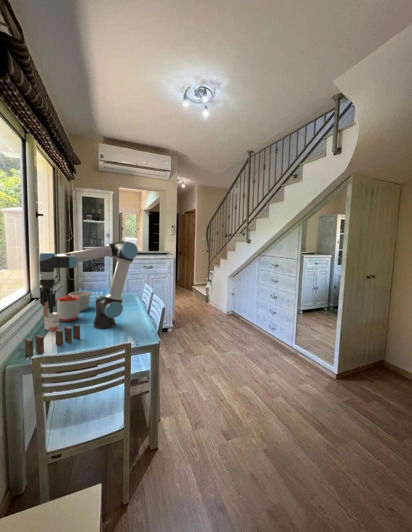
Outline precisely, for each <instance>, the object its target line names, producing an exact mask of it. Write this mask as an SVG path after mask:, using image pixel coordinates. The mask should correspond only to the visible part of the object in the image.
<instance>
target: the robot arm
mask: <svg viewBox="0 0 412 532" xmlns="http://www.w3.org/2000/svg"><path fill="white" fill-rule="evenodd" d="M138 253H139V249H138V247H137V245H136V244H135V243H133V242H131V241H126V240H123V241H117V242H112V243H108V244H106V245H103V246H100V247H94V248H88V249H83V250H76V251H71V252H67V253H58V254H55V253H54V252H50V251H47V252H44V251H43V252H40V253H39V260H38V264H39V273H38V275H39V286H40V287H39V292H40V293H39V299H40V300H39V302H40V303H39V304H40V305H41V306H42V317H43V318H44V316H45V315H44V302H48V306H49V307H47V308H48V319H49V318H53V312H54V308H55V307H56V305H57V304H56V303H57V298H56V293H57V290H55V289H54V287H53V286H54V285H55V284H56V279H55V278H56V270H55V269H73V268H75V269H76V268H77V266H78V263H82V262H87V261H91V260H97V259H100V258H101V259H102V258H106V257H110V258H112V257H115V259H116V265H115V269H114V273H113V276H112V280H111V283H110V286H109V291H108V294H100V295H96V297H95V318H94V320H93V328H95V329H98V330H99V329H102V330H104V329H109V327H110V328H112V326H113V325H114V326H115V325H116V320H115V318H118V317H119V316H120V315H121V314H122V313H123V310H124V307H123V300H124V299H123V297H122V294H123V290H124V288H125V287H124V286H125V284H126V279H127V276H128V273H129V268H130V265H131V264H132V263H133V261H134V259H135V258H136V257H137V255H138ZM114 326H113V327H114Z"/></svg>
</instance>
